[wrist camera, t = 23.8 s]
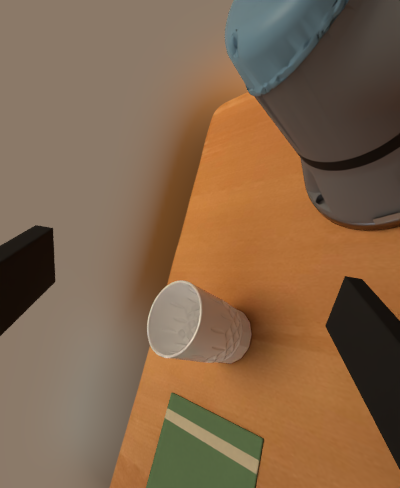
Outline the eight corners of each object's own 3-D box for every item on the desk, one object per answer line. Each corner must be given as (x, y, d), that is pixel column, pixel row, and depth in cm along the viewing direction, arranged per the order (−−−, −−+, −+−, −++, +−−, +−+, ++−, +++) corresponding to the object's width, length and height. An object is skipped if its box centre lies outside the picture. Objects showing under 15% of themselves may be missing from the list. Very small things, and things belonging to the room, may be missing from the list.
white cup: (202, 313, 41) (148, 293, 35) (251, 296, 37) (199, 269, 31) (206, 374, 37) (145, 364, 30) (261, 362, 33) (204, 348, 26)
